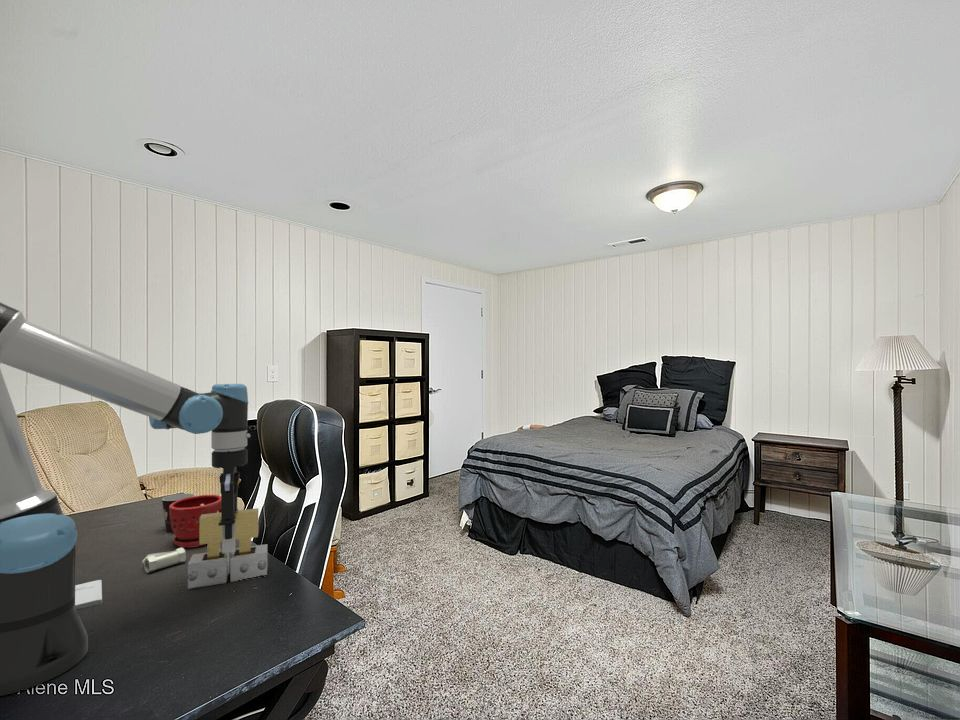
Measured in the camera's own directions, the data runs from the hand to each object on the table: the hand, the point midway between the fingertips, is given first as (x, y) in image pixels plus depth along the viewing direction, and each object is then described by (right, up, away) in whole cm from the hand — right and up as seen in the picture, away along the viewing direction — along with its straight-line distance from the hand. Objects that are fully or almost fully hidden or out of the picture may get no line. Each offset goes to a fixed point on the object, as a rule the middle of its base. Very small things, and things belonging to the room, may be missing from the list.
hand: (229, 549), depth 110 cm
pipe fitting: (-21, -7, +7) cm, 23 cm away
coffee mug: (-34, -8, +33) cm, 48 cm away
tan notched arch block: (0, -3, 0) cm, 3 cm away
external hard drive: (-27, -7, -10) cm, 30 cm away
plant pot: (-22, -8, +23) cm, 33 cm away
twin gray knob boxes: (0, -7, 0) cm, 7 cm away
